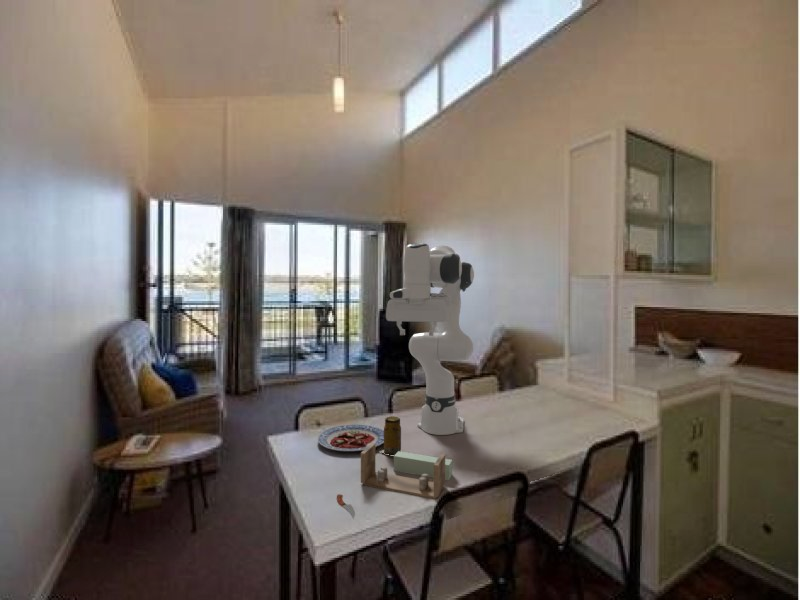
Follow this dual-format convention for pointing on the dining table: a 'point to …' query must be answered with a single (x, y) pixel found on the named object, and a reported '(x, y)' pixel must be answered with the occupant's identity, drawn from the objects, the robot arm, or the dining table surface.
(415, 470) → the pale green rectangular block
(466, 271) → the robot arm
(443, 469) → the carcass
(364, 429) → the ceramic plate
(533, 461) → the dining table surface
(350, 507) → the knife
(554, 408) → the dining table surface
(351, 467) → the dining table surface
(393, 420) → the condiment
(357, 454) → the dining table surface
